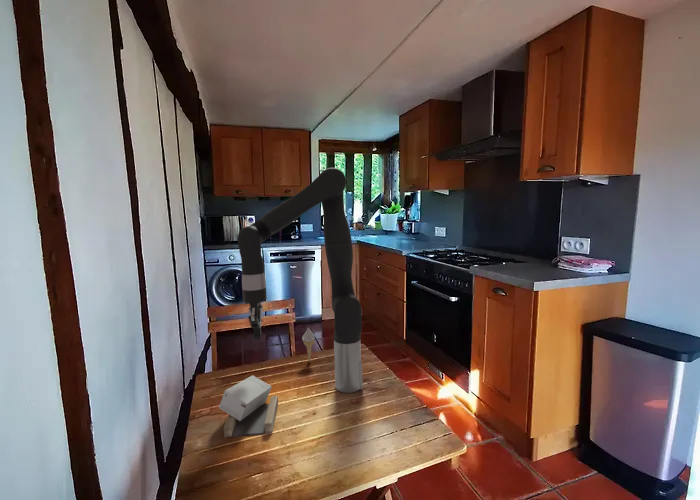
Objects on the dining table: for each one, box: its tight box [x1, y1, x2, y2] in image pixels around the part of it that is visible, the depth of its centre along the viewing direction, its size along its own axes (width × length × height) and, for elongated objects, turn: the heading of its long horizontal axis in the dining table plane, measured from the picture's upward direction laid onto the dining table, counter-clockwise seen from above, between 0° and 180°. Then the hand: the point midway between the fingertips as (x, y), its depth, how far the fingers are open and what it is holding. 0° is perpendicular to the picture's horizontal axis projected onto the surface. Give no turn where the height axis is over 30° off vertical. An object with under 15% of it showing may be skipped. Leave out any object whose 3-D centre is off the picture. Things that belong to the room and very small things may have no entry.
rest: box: [223, 395, 279, 438], centre depth 98 cm, size 13×14×3 cm
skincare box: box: [218, 374, 273, 421], centre depth 102 cm, size 8×6×15 cm
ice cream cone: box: [301, 326, 316, 363], centre depth 136 cm, size 6×6×15 cm
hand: (257, 337), depth 110 cm, fingers closed
